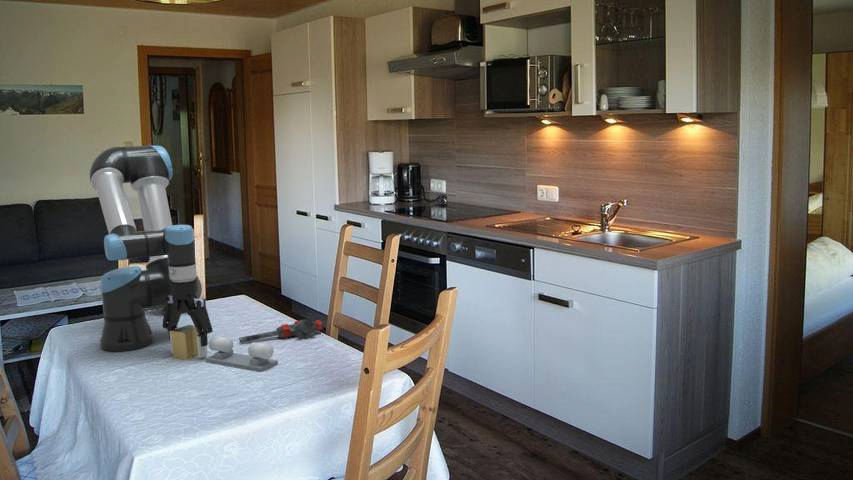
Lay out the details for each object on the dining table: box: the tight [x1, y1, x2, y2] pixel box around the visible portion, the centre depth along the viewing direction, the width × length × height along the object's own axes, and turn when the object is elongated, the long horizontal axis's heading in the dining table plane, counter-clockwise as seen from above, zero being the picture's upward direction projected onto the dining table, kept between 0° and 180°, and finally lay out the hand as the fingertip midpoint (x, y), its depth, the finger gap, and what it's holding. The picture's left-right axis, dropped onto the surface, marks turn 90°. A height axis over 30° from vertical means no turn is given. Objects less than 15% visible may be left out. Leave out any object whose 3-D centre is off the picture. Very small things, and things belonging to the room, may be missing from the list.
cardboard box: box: [171, 324, 203, 361], centre depth 214 cm, size 7×6×8 cm
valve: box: [239, 318, 324, 343], centre depth 231 cm, size 6×26×15 cm
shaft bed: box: [205, 335, 279, 373], centre depth 206 cm, size 20×7×6 cm, turn 62°
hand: (189, 354), depth 214 cm, fingers open, 10 cm apart
